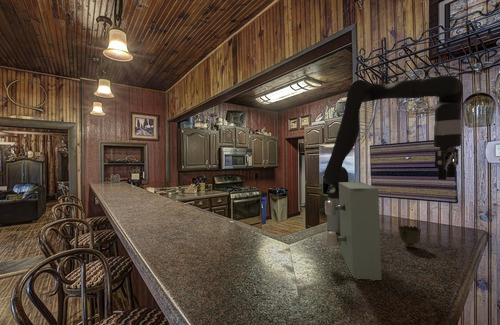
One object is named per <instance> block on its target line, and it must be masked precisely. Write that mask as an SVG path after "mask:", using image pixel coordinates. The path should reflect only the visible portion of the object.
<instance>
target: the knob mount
mask: <svg viewBox="0 0 500 325" xmlns="http://www.w3.org/2000/svg"><path fill="white" fill-rule="evenodd" d="M379 200H380V199H379V187H377V186H376V187H375V186H373V185H370V184H367V183H364V182H362V181H348V182H339V206H345V210H340V233H339V234H340V237H346V242H341V241H340V254H341V256H342V259H343V260H344V262H346V263H345V264H347V265H346V267H347V266H348V267H347V269H348V268H349V269H348V271H349V270H350V271H349V273H350V272H351V273H350V275H351V274H352V275H351V277H352V276H353V278H363V279H375V280H382V257H381V255H382V252H381V231H380V230H381V229H380V228H381V227H380V225H381V224H380V202H379ZM353 278H352V279H353ZM375 280H374V281H375Z"/></svg>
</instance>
